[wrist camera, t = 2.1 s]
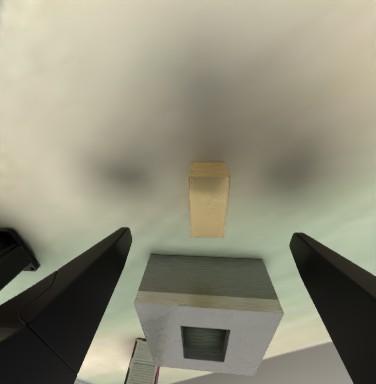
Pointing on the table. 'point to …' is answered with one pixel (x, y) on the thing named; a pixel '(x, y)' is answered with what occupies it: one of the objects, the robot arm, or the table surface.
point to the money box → (207, 312)
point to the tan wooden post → (208, 198)
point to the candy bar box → (142, 365)
